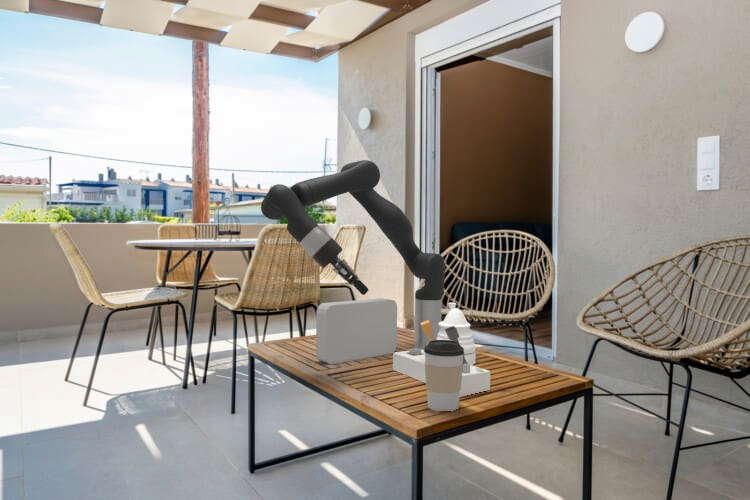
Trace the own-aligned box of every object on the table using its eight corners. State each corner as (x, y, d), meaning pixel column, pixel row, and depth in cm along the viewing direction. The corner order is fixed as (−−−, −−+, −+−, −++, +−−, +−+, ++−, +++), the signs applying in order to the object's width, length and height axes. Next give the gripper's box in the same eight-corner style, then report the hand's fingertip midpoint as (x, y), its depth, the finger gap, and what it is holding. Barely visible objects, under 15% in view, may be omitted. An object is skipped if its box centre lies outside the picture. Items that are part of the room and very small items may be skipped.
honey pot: (426, 358, 160) (427, 302, 160) (458, 355, 166) (459, 300, 165) (449, 368, 148) (450, 307, 148) (484, 363, 154) (485, 305, 154)
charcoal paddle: (468, 365, 129) (453, 325, 128) (472, 369, 125) (456, 328, 125) (460, 368, 129) (444, 329, 128) (463, 372, 125) (447, 331, 125)
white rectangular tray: (420, 365, 151) (420, 342, 151) (489, 390, 126) (490, 363, 126) (392, 369, 145) (393, 345, 145) (459, 397, 121) (460, 368, 121)
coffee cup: (419, 400, 118) (420, 337, 117) (457, 400, 119) (458, 336, 118) (427, 414, 109) (428, 345, 108) (468, 413, 110) (469, 344, 109)
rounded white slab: (382, 349, 174) (382, 297, 173) (396, 353, 168) (397, 299, 167) (311, 360, 155) (312, 302, 155) (325, 365, 150) (326, 305, 149)
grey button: (416, 357, 147) (416, 347, 147) (423, 360, 144) (423, 349, 144) (406, 359, 145) (406, 348, 145) (413, 361, 142) (413, 351, 142)
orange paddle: (442, 357, 138) (428, 319, 137) (444, 360, 134) (430, 322, 134) (434, 360, 137) (420, 323, 137) (436, 363, 134) (421, 325, 134)
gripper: (329, 236, 128) (377, 285, 128) (332, 236, 141) (375, 280, 141) (308, 257, 128) (356, 305, 128) (313, 255, 141) (356, 299, 141)
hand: (366, 292), depth 135 cm, fingers closed
